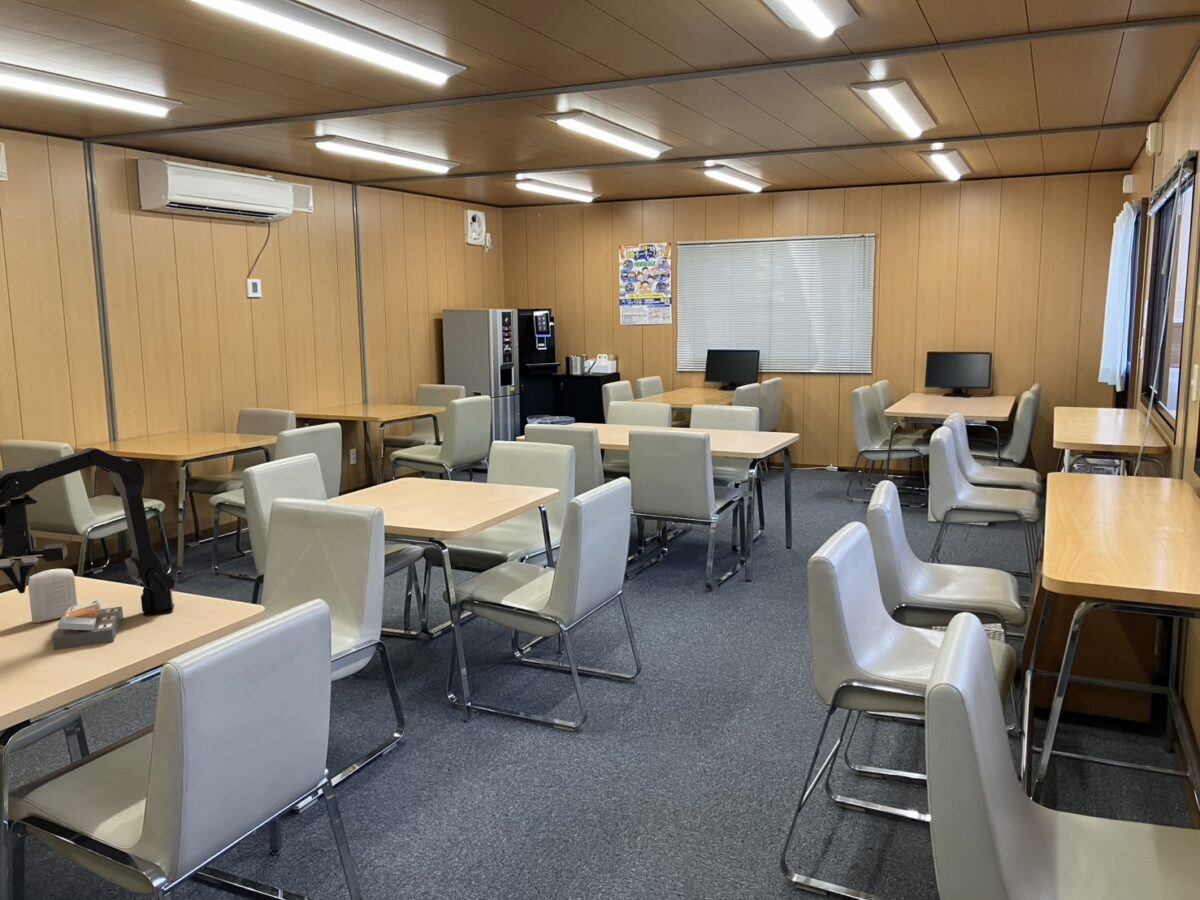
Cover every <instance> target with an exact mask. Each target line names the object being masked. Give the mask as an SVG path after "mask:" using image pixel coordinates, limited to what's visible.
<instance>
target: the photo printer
mask: <svg viewBox="0 0 1200 900" xmlns="http://www.w3.org/2000/svg"><path fill="white" fill-rule="evenodd" d="M75 578H76V577H75V574H74V572H73V570H72V569H70V568H53V569H47V570H43V571H40V572H37V573H35V574H33V575H31V576H29V577H28V582H27V587H28V588H27V589H28V597H29V605H30V606H29V607H30V614H31V615H30V616H31V622H32V623H34V624H38V623H43V622H48V621H51V620H57V619H61V618H62V617H63V616H64V614H65V613H66V612H67V611H68V609H69V608H70V607H73V606H76V605H79V604H78V595H77V585H76V579H75Z"/></svg>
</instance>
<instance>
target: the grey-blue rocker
mask: <svg viewBox="0 0 1200 900" xmlns="http://www.w3.org/2000/svg"><path fill="white" fill-rule="evenodd" d="M59 619H60V620H59V621H58V623H57V624H58V625H57V629H73V630H93V628H94V626H95V624H96V618H79V617H61V618H59Z"/></svg>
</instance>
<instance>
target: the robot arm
mask: <svg viewBox="0 0 1200 900" xmlns="http://www.w3.org/2000/svg"><path fill="white" fill-rule="evenodd" d="M93 466H94V467H96V468H98V469H99V470H102V471H104V472H106V473H108V474H109V477H110V478H111V479H110V480H111V482H112V484H113V486H114V488H115V489H116V490H117V492H118V494H119V496H120V497H121V502H122V507H123V511H124V517H125V522H126V525H127V531H128V536H129V541H130V546H131V555H130V558H125V559H124V562H125V564H126V567H127V569H126V570H127V571H126V574H127V575H129V576H130V577H131V579H132V580H134V581H135V582H137V583H138V585H139V586H140V587H141V588H143V589H142V593H141V595H140V601H141V603H140V604H141V612H143V616H144V617H145V616H146V617H148V616H154V615H161V614H162V615H163V614H169V613H173V612H174V608H175V603H174V601H173V599H174V598H173V593H172V592H173V591H172V589H174V588H175V584H176V579H174V578H173V577H171V576H170V575H168V574H166V573H165V569H164V567H163V565H162V562H161V560H160V557H159V555H157V553H156V552H155V550H154V547H153V543H152V540H151V534H150V528H149V524H148V519H147V515H146V514H147V513H146V509H145V504H144V498H143V491H144V487H145V483H146V482H145V477H146V476H145V467H144V466H143V464H142V463H140V462H139V461H137V460H134V459H133V460H131V459H127V458H120V457H118V456H114V455H113V454H110V453H108V452H105V451H103V450H102V449H101V448H95V447H87V448H84V449H83V450H80V451H78V452H74V453H71V454H70V453H69V454H68V455H64V456H60V457H58V458H54V459H52V460H49V461H46V462H42V463H40V464H37V465H33V466H25V467H24V466H23V467H15V468H9V469H2V470H0V548H1V552H0V571H2V572H3V574H5V575H6V576H7V577H8V579H9V580H10V581H11V582H12V584H13V586H14V587H15V588H16V590H17V592H18V593H19V594H24V593H25V592H26V589H27V586H28V582H29V577H30V573H31V571H32V569H33V568H34V567H36V566H37V565H38V563H39V562H40V559H43V560H44V561H46V563H47V562H57V561H64V560H65V558H66V557H67V556H68V548H67V545H66V544H65V543H63V542H61V543H54V544H46V545H45V546H44V547H43V548H42V549H37V535H36V534H35V533H32V532H31V527H30V523H29V521H30V520H29V515H28V513H29V512H28V508H27V506H28V505H29V506H30V505H34V504H37V503H38V500H36V499H34V498H32V497H31V496H30V495H29V494H28V493H29V492H31V491H33V490H34V489H36V488H37V487H39V485H42V484H44V483H45V482H49V481H51V480H54V479H57V478H60V477H64V476H67V475H70V474H72V473H75V472H79V471H81V470H84V469H88V468H92V467H93ZM19 561H21V562H22V563H21V564H20V565H19Z"/></svg>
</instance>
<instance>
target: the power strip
mask: <svg viewBox="0 0 1200 900" xmlns="http://www.w3.org/2000/svg"><path fill="white" fill-rule="evenodd" d="M123 613H124V612H123V606H113V607H107V608H100V609H99V613H98V615H97V617H96V624H95V626H94V628H93V630H73V629H58V628H57V629H56V631H55V632H54V634H53V636H52V637H51V638H52V645H53V651H56V650H65V649H70V648H71V649H73V648H78V647H86V646H93V645H94V646H95V645H101V644H108V643H114V642H115V640H114V639H116V637H117V634H118V632H119V630H120V627H121V624H122V622H123V620H124V614H123Z"/></svg>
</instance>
